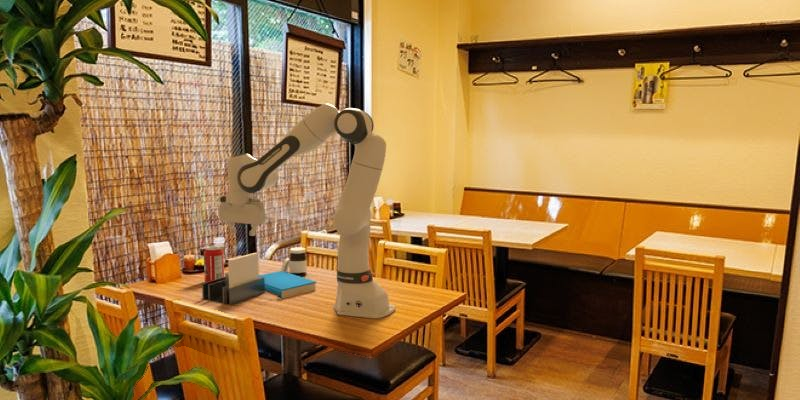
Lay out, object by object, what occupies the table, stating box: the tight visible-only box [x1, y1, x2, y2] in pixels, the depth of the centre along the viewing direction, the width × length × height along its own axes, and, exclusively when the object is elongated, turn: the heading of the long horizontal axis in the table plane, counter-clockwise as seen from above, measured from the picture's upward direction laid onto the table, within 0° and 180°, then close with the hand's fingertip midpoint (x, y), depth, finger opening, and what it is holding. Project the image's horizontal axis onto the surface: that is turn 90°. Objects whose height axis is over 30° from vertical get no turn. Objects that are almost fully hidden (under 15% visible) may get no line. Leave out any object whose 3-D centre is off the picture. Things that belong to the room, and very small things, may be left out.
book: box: [259, 270, 317, 299], centre depth 223 cm, size 17×4×25 cm
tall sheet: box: [227, 252, 260, 289], centre depth 205 cm, size 2×14×16 cm, turn 152°
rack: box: [201, 271, 266, 306], centre depth 208 cm, size 16×18×10 cm
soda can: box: [203, 246, 225, 283], centre depth 230 cm, size 8×8×15 cm
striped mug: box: [280, 246, 308, 277], centre depth 246 cm, size 12×11×12 cm
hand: (242, 234), depth 203 cm, fingers open, 8 cm apart
